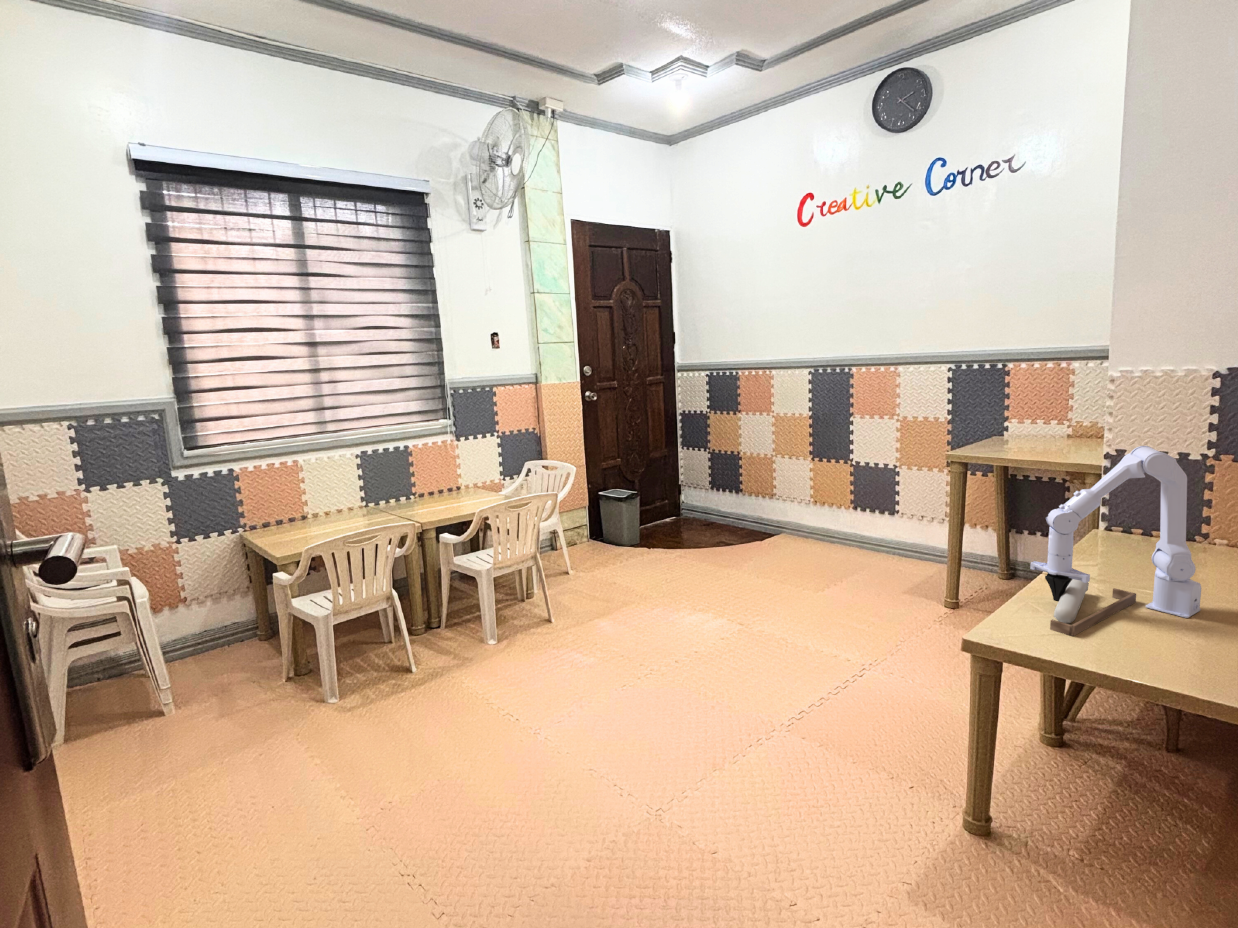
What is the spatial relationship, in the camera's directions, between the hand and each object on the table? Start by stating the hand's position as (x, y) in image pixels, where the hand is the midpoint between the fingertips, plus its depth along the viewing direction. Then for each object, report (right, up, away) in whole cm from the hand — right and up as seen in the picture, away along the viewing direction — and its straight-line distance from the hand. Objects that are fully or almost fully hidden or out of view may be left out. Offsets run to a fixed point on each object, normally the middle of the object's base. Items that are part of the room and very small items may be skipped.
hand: (1057, 600), depth 194 cm
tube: (+2, -2, -2) cm, 4 cm away
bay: (+5, -3, -8) cm, 9 cm away
